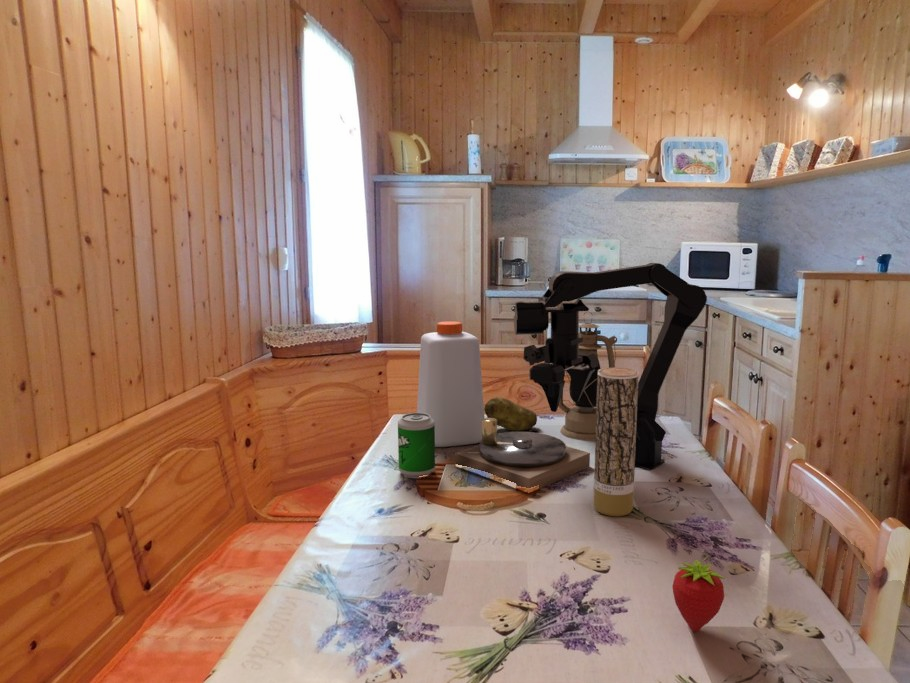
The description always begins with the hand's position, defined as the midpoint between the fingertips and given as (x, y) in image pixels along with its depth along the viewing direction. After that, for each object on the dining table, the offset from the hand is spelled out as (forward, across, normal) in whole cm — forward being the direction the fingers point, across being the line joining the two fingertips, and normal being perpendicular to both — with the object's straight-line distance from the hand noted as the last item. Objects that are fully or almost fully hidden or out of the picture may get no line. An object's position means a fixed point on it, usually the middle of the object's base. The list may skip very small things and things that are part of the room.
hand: (565, 406), depth 133 cm
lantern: (+13, -22, -7) cm, 27 cm away
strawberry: (+13, +41, +41) cm, 59 cm away
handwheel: (+9, +7, -6) cm, 13 cm away
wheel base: (+12, +7, -6) cm, 16 cm away
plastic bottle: (+12, +1, -31) cm, 33 cm away
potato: (+13, -13, -23) cm, 29 cm away
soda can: (+12, +24, -21) cm, 34 cm away
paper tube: (+13, +15, +18) cm, 27 cm away
